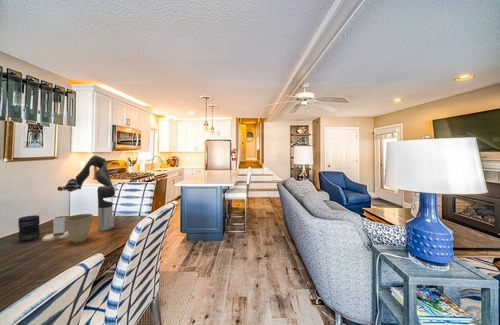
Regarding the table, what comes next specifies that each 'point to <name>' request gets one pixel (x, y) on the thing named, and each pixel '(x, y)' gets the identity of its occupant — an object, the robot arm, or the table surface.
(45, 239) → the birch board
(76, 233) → the plant pot
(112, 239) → the table surface
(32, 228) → the storage jar
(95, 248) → the table surface
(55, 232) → the aluminium block
